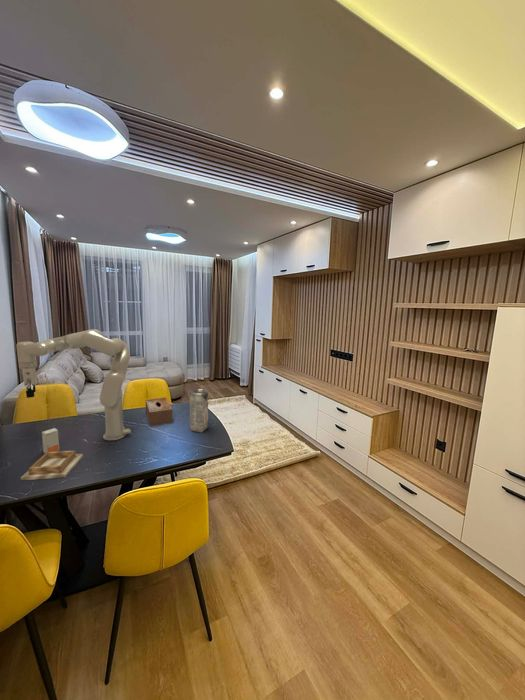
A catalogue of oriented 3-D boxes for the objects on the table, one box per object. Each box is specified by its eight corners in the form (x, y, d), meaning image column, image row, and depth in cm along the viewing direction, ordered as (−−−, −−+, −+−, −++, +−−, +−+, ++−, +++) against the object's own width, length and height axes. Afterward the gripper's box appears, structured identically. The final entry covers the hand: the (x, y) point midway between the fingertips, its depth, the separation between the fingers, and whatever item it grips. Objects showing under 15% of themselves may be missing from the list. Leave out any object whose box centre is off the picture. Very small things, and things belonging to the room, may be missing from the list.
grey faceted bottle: (202, 433, 175) (202, 393, 171) (188, 430, 178) (187, 390, 174) (209, 428, 183) (209, 389, 179) (195, 425, 187) (195, 387, 182)
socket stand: (82, 456, 145) (82, 448, 145) (65, 477, 128) (64, 468, 127) (44, 458, 142) (43, 450, 141) (21, 480, 124) (20, 471, 124)
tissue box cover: (146, 412, 205) (145, 399, 204) (166, 409, 212) (165, 397, 210) (150, 426, 183) (149, 412, 181) (172, 422, 190) (172, 409, 188)
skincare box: (46, 455, 145) (44, 434, 143) (43, 452, 147) (41, 431, 145) (60, 450, 150) (58, 429, 148) (56, 448, 152) (54, 427, 150)
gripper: (35, 366, 144) (39, 398, 147) (37, 360, 158) (40, 389, 161) (16, 368, 140) (20, 400, 143) (20, 362, 154) (24, 391, 157)
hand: (31, 394), depth 152 cm, fingers open, 9 cm apart
